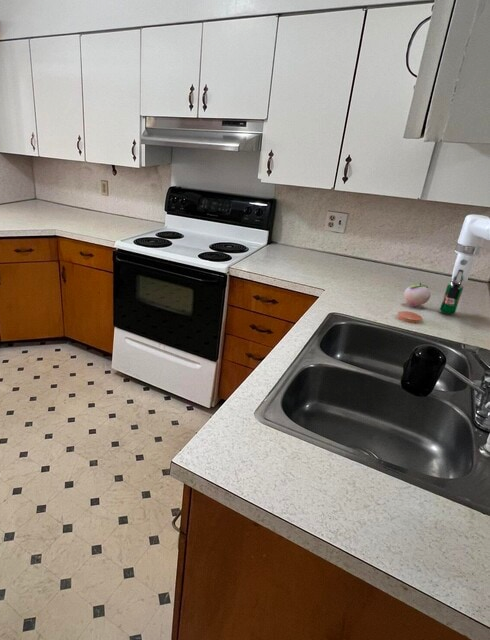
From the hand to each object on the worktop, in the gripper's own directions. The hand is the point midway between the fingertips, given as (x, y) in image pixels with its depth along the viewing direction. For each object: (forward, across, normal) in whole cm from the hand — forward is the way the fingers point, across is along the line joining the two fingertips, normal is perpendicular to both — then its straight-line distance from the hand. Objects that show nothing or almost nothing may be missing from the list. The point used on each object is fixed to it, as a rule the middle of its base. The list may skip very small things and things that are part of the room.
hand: (452, 295), depth 161 cm
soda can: (+7, 0, 0) cm, 7 cm away
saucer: (+8, -16, +11) cm, 21 cm away
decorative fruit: (+8, 0, +11) cm, 14 cm away
